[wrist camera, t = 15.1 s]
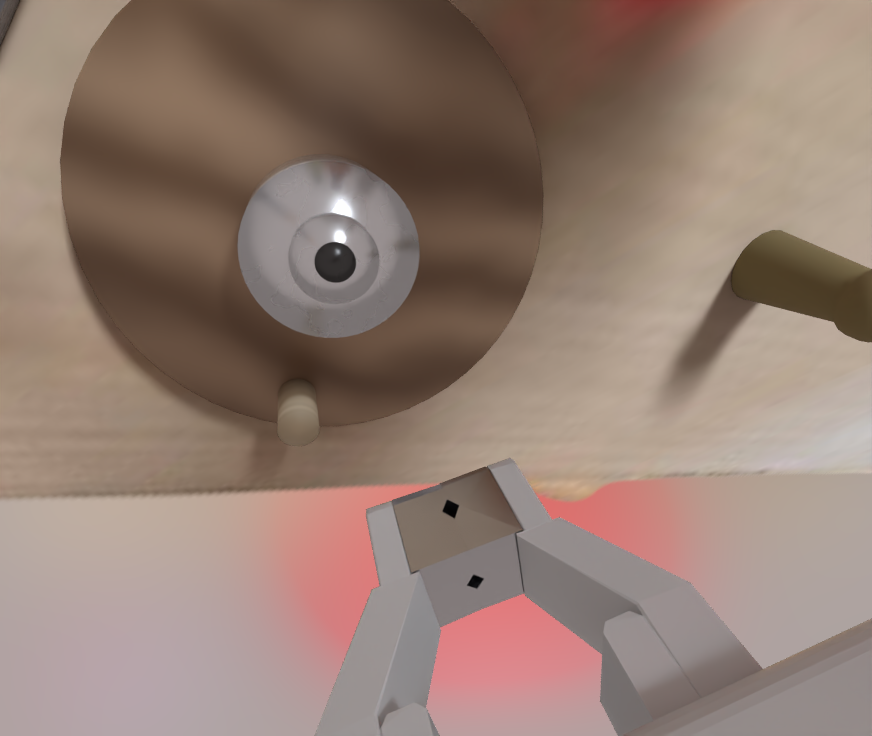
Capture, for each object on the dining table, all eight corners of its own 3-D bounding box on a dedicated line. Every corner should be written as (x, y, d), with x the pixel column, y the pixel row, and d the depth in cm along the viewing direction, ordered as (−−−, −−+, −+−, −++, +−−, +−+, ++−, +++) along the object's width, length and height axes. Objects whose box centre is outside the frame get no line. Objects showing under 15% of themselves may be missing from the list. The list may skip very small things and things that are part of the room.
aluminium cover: (257, 127, 22) (252, 132, 19) (424, 184, 26) (447, 198, 22) (232, 296, 26) (223, 328, 22) (381, 326, 29) (395, 357, 26)
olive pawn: (731, 310, 41) (861, 370, 31) (730, 250, 37) (876, 298, 28) (789, 279, 41) (935, 329, 32) (794, 217, 37) (959, 253, 28)
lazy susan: (85, -200, 17) (12, -311, 12) (600, 93, 28) (663, 90, 23) (65, 382, 27) (20, 438, 22) (449, 434, 38) (472, 479, 33)
